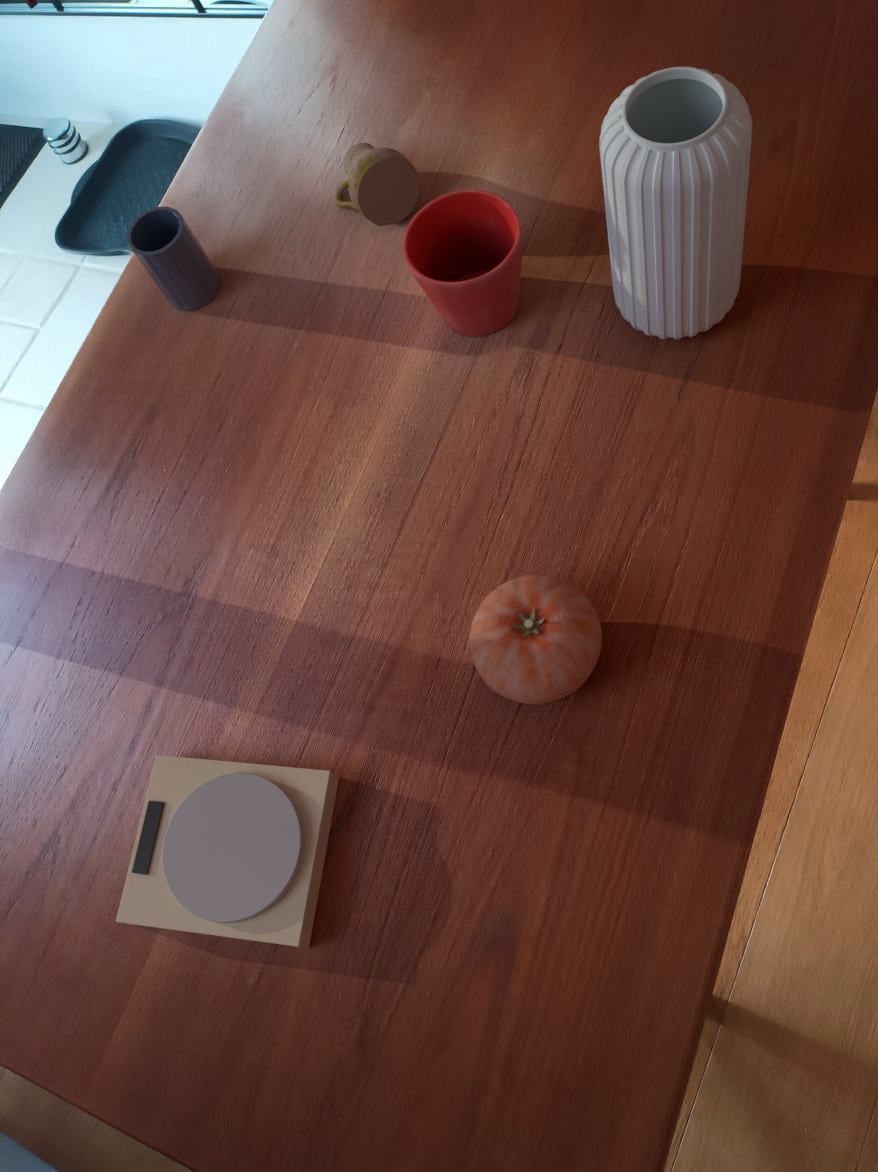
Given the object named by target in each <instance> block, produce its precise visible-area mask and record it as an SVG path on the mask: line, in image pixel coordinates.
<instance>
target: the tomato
mask: <svg viewBox="0 0 878 1172" xmlns="http://www.w3.org/2000/svg"><path fill="white" fill-rule="evenodd" d="M602 643H603V631H602V625H601V622H600V619H599V616H598V614H597V612H596V609H595V607H594V606H593V604H592V603H591V602H590V600H589V598H588V597H587V596H586V595H585V594H584V593H583V592H582V591H581V589H579V588H578V587H577V586H575V585H573V584H572V583H570V582H568V581H566V580H563V579H562V578H558V577H555V576H551V575H544V574H526V575H522V576H518V577H515V578H512V579H510V580H508V581H506V582H504V583H502V584H500V585H499V586H497V587H496V588H494V589H493V590H492V591H491V592H489V593H488V594H487V595H486V596H485V597H484V599H483V600H482V602H481V603H480V605H479V606H478V608H477V610H476V612H475V614H474V617H473V619H472V622H471V626H470V629H469V638H468V646H469V653H470V656H471V659H472V662H473V664H474V667H475V670H476V671H477V673H478V675H479V676H480V678H481V679H482V680H483V682H484V683H485V684H486V685H487V687H488V688H490V689H491V690H492V691H493V692H495V693H497V694H498V695H500V696H502V697H504V698H507V699H508V700H511V701H513V702H517V703H520V704H524V705H525V704H526V705H542V704H546V703H551V702H554V701H558V700H560V699H563V698H566V697H567V696H569V695H571V694H573V693H574V692H576V691H577V690H578V689H579V688H580V687H582V686H583V684H585V682H586V681H587V680H588V679H589V678H590V675H591V674H592V672H593V670H594V669H595V667H596V664H597V663H598V660H599V657H600V654H601V649H602Z"/></svg>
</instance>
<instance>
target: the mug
mask: <svg viewBox="0 0 878 1172" xmlns="http://www.w3.org/2000/svg"><path fill="white" fill-rule="evenodd" d="M342 165H343V171H344V172H345V173H346V175H347V177H348V178H347V179H346V180H344V181H342V182H341V183H340V184H339V185H338V187H337V188H336V191H335V193H334V196H333V201H334V203H335V205H336V206H337V207H338V208H341V209H344V210H352V211H355V212H357V213H358V214H359V215H361V216H362V217H363V218H365V219H366V220H367V221H370V223H373V224H374V225H376V226H378V227H384V226H391V225H397V224H399V223H401V222H402V221H404V220H405V219H406V218H407V217H408V216H409V215H410V214H411V212H412V211H413V210H414V208H415V206H416V203H417V201H418V198H419V193H420V185H421V182H420V177H419V174H418V172H417V169H416V168H415V166H414V164H412V162H411V161H410V160H409V159H408V157H406V155H404V154H403V153H402V152H400V151H398V150H396V149H394V148H389V147H374V146H373V145H372V144H370V143H369V142H358V143H355V144H353V145H351V146H350V147H349V148H348V149H347V151H346V152H345V154H344V157H343V163H342ZM347 189H348V192H349V193H348V194H349V197H350V200H351V201H343V200H342V196H343V195H344V194H345V192H346V191H347Z"/></svg>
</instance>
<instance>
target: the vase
mask: <svg viewBox="0 0 878 1172" xmlns="http://www.w3.org/2000/svg"><path fill="white" fill-rule="evenodd" d="M752 137H753V120H752V115H751V113H750V107H749V105H748V103H747V101H746V98H745V97H744V96H743V95H742V93H741V92H740V90H739V88H737V86H736V85H735V84H733V83H732V82H731V81H728V80H727V79H726V77H725V76H723V75H721V74H719V73H712V71H710V70H709V69H706V68H702V67H701V68H698V67H697V68H696V67H693V66H688V65H687V66H671V67H667V68H663V69H660V70H659V69H658V70H656V71H653V72H652V73H651V74H648V75H647V76H645V75H644V76H642V77H640V78H639V79H637V80H636V81H635V83H633V84H630V85H629V86H627V87H626V88H624V90H623V91H622V92H621V93H620V94H619V96H618V97H617V98H615V100H614V101H613V102H612V103H611V105H610V106H609V109H608V111H607V113H606V115H605V116H604V118H603V120H602V124H601V126H600V135H599V142H598V144H599V147H598V148H599V159H600V168H601V178H602V179H601V180H602V190H603V198H604V199H603V200H604V208H605V221H606V228H607V229H606V230H607V240H608V250H609V260H610V271H611V282H612V291H613V296H614V302H615V305H616V307H617V309H618V310H619V311H620V314H621V316H622V318H623V319H624V320H625V321H626V322H628V323H630V325H631V327H632V328H633V329H635V330H636V331H639V332H640V331H641V332H643V334H644V335H646V336H648V337H658V339H660V340H667V339H674V340H677V341H678V340H681V339H682V338H684V337H689V338H692V337H697V335H698V333H705V332H707V331H709V330H711V328H712V327H713V325H717V324H719V323H720V322H721V321H722V320H723V319H724V318H725V315H726V314H727V313H729V312H730V311H731V309H732V307H734V304H735V299H736V298H737V297H738V294H739V290H740V286H741V285H740V284H741V275H742V261H743V249H744V237H745V224H746V213H747V212H746V211H747V200H748V190H749V189H748V188H749V187H748V186H749V174H750V162H751V152H752V151H751V150H752Z"/></svg>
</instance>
